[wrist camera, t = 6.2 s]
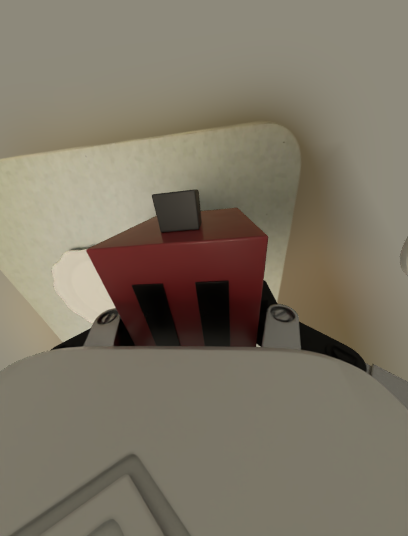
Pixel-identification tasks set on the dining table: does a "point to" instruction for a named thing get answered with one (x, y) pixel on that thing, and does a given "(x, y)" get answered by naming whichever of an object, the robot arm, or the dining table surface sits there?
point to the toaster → (186, 275)
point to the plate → (80, 285)
